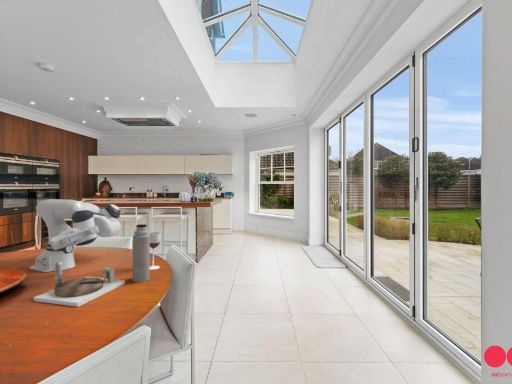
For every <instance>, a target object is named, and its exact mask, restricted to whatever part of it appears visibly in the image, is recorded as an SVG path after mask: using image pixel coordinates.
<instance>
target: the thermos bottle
mask: <svg viewBox="0 0 512 384" xmlns="http://www.w3.org/2000/svg"><path fill="white" fill-rule="evenodd" d="M147 227H148V226H147V224H136V229H135V230H134V233H133V236H132V274H131V275H132V277H131V278H132V282H134V283H144V282H146V281H149V280H150V270H149V267H150V266H151V265H150V263H151V262H150V257H151V256H150V255H151V254H150V251H151V247H150V235H148V233H150V232H149V230H147Z"/></svg>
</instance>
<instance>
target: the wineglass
mask: <svg viewBox="0 0 512 384" xmlns="http://www.w3.org/2000/svg"><path fill="white" fill-rule="evenodd" d="M148 235H150V249H152V262H151V263H152V265H150V267H149V271H150V270H158V269H160V268H161V267H160V265H155V248H158V247H159V246H160V243H161V240H162V239H161V237H162V233H161V232H155V231H154V232H153V231H152V232H149V233H148Z"/></svg>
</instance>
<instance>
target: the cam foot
mask: <svg viewBox="0 0 512 384" xmlns="http://www.w3.org/2000/svg"><path fill="white" fill-rule="evenodd" d="M54 272H55V279H54V281H55V286H54V289H55V294H56V295H58V296H63V297H72V296H80V295H85V294H89V293H93V292H95V291H98V290H99V289H101V288H102V287H103V283H106V282H107V281H108V279H107V278H104V277H103V278H104V279H103V280H102V279H100V278H101V277H96V278H93V276H88V277H89V278H85V277H79V278H74V279H69V280H65V281H63V270H62V262H57V263H56V266H55V271H54Z"/></svg>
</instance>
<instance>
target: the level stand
mask: <svg viewBox="0 0 512 384" xmlns="http://www.w3.org/2000/svg"><path fill="white" fill-rule="evenodd" d="M89 277H90V276H86V277H84V278H89ZM92 277H93V276H92ZM93 278H97V277H93ZM99 278H100V279H102V280H103V279H104V278H107V279H108V281H107V282H106V283H103V287H102V288H101V289H99V290H98V291H95V292H93V293H89V294H85V295H80V296H72V297H63V296H58V295H56V294H55V288H54V289H51V290H48V291H46V292H43V293H42V294H39V295H36V296H34V297H33V302H39V303H46V304H55V305H61V306H62V305H63V306H67V307H68V306H69V307H76V308H79V307H80V306H82V305H84V304H86V303H89V302H91V301H92V300H95V299H97V298H99V297H100V296H103V295H105V294H107V293H108V292H110V291H113V290H115V289H117V288H119V287H121V286H123V285H126V284H125V283H126V280H123V279H115V269H114V268H111V267H108V266H107V267H103V278H102V277H99ZM88 301H89V302H88Z"/></svg>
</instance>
